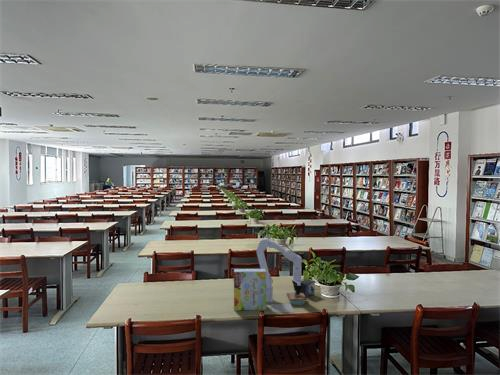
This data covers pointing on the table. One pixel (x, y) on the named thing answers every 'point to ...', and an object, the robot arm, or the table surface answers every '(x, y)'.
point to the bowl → (297, 302)
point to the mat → (281, 308)
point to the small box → (307, 287)
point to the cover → (296, 296)
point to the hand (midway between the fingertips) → (296, 292)
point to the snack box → (249, 289)
